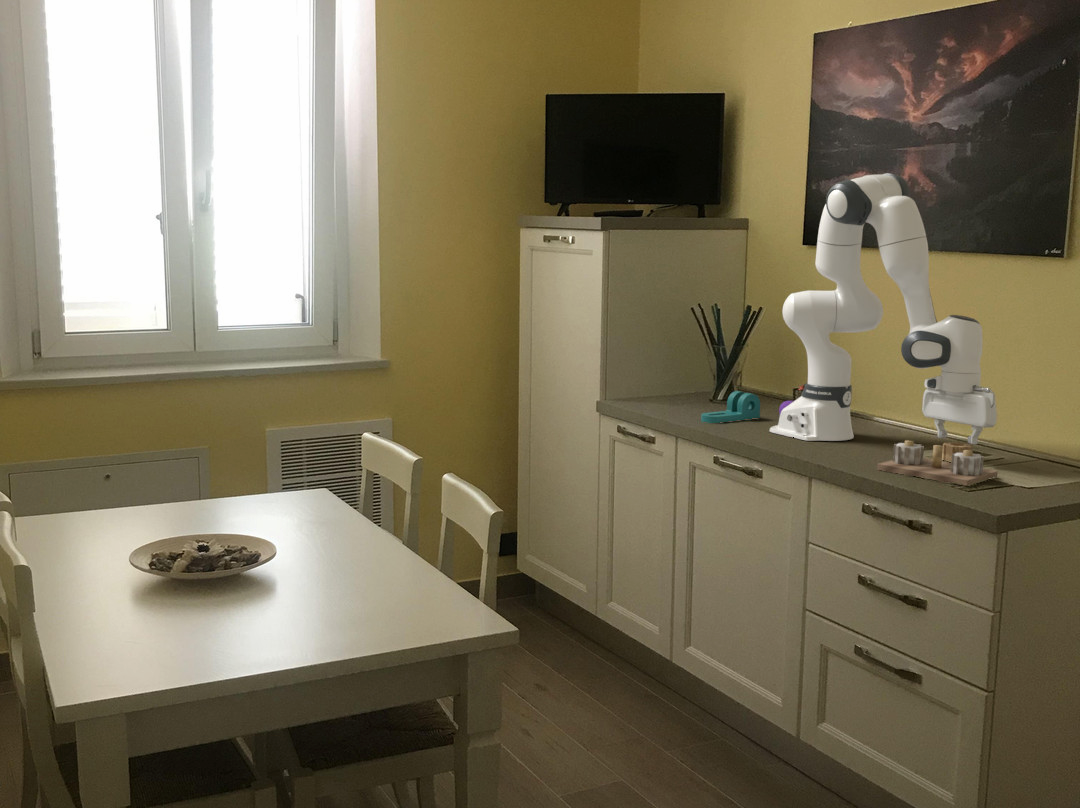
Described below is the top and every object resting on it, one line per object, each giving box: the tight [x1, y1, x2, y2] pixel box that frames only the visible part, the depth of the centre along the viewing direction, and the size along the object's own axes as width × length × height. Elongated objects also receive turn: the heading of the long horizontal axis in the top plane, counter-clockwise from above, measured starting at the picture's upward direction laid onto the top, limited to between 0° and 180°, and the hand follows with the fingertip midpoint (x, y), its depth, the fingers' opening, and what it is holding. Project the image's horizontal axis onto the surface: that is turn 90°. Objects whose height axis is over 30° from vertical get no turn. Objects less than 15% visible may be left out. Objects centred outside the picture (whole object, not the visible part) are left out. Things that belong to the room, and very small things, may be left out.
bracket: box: [700, 390, 761, 424], centre depth 322 cm, size 18×7×8 cm, turn 120°
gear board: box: [876, 439, 999, 485], centre depth 255 cm, size 22×14×6 cm, turn 42°
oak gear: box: [942, 441, 973, 463], centre depth 269 cm, size 7×7×4 cm
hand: (957, 440), depth 268 cm, fingers open, 8 cm apart
